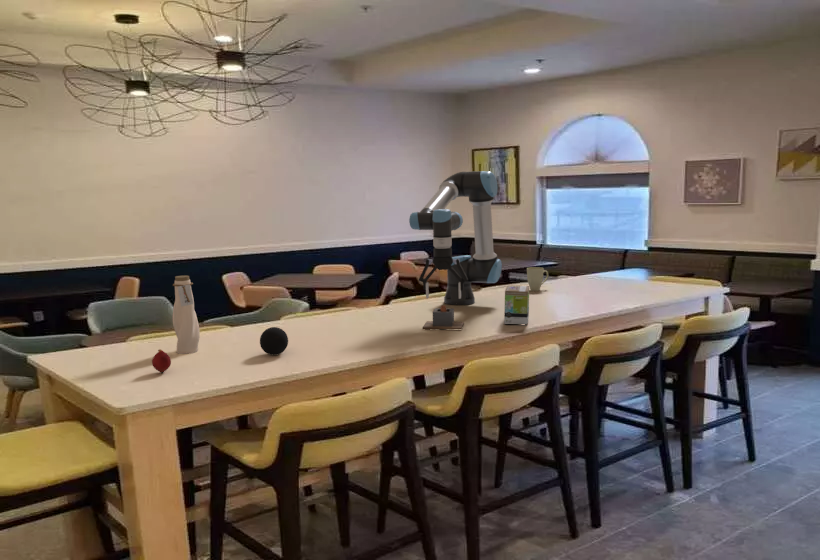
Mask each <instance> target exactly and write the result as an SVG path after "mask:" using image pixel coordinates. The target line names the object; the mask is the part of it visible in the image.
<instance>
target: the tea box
mask: <svg viewBox="0 0 820 560" xmlns="http://www.w3.org/2000/svg"><path fill="white" fill-rule="evenodd" d="M529 312H530V287H529V285H506V288H505V290H504V314H503V315H504V318H503V321H504V322H503V323H504V324H503V325H505V324H527V323H528V322H529V317H530V315H529V314H530V313H529ZM527 325H528V324H527Z"/></svg>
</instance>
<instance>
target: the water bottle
mask: <svg viewBox="0 0 820 560" xmlns="http://www.w3.org/2000/svg"><path fill="white" fill-rule="evenodd" d="M174 278H175V279H174V283H172V287H174V296H175V299H174V304H173V308H172V325H173V329H174V333H175V335H176V338H177V342H176V353H177V354H193V353H196V352H198V351H199V342H200V334H201V332H200V326H199V321H198V317H197V313H196V311H195V301H194V295H193V290H192V285H194V283H193V282H191V279H190V275H176V276H174Z"/></svg>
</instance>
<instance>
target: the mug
mask: <svg viewBox="0 0 820 560" xmlns="http://www.w3.org/2000/svg"><path fill="white" fill-rule="evenodd" d="M544 273H545V274H546V277H545V278H544ZM526 276H527V279H526V280H527V283H528V286H529V291H532V292H539V291H540V290H541V287H542V286H543V285H544V283H546V281H547V280H548V278H549V271H548V270H545V269H544V267H538V266H537V267H536V266H535V267H534V266H532V267H527V268H526ZM543 278H544V279H543Z"/></svg>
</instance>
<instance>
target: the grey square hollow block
mask: <svg viewBox="0 0 820 560" xmlns="http://www.w3.org/2000/svg"><path fill="white" fill-rule="evenodd" d="M432 321H433V326H442V327H452V326H453V324H454V322H455V308H447V307H446V312H441V307H440V308H439V307H438V308H437V307H436V308H434V309H433V310H432Z"/></svg>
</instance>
